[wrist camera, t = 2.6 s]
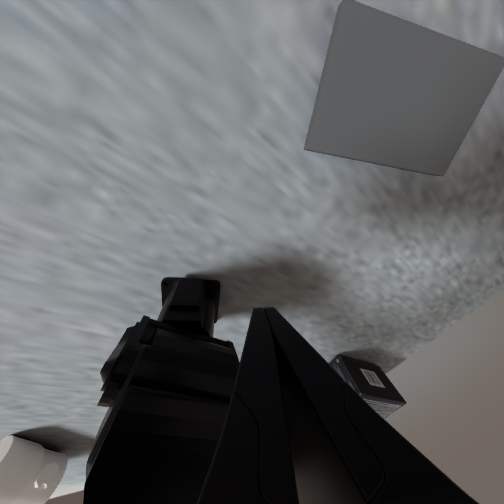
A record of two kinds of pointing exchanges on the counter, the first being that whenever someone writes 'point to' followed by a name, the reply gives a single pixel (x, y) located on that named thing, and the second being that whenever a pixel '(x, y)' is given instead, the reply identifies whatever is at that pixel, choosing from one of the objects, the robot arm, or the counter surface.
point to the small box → (369, 384)
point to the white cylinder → (28, 471)
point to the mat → (397, 92)
